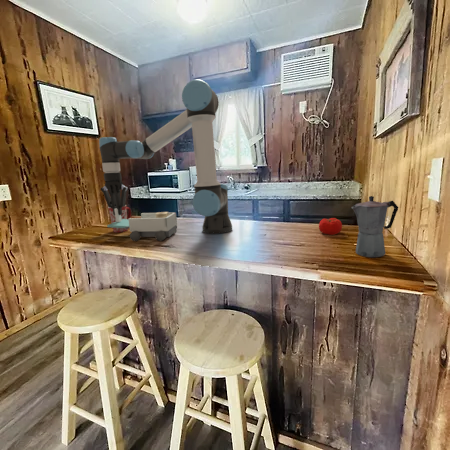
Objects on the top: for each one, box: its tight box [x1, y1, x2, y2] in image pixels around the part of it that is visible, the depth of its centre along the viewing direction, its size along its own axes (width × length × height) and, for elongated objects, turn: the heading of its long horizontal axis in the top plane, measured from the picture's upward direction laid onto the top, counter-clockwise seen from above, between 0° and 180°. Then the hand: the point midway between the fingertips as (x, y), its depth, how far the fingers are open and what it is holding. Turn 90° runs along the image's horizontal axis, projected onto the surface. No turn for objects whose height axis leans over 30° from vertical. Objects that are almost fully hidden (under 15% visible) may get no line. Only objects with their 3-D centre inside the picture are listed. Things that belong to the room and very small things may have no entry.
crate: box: [155, 211, 169, 218], centre depth 123 cm, size 5×5×5 cm
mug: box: [107, 204, 132, 233], centre depth 137 cm, size 13×9×14 cm
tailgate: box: [107, 219, 130, 230], centre depth 125 cm, size 1×16×11 cm
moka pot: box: [351, 195, 399, 258], centre depth 87 cm, size 10×15×20 cm, turn 95°
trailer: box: [128, 212, 178, 242], centre depth 123 cm, size 18×18×10 cm
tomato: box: [318, 217, 343, 236], centre depth 116 cm, size 10×11×6 cm
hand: (118, 221), depth 125 cm, fingers closed
